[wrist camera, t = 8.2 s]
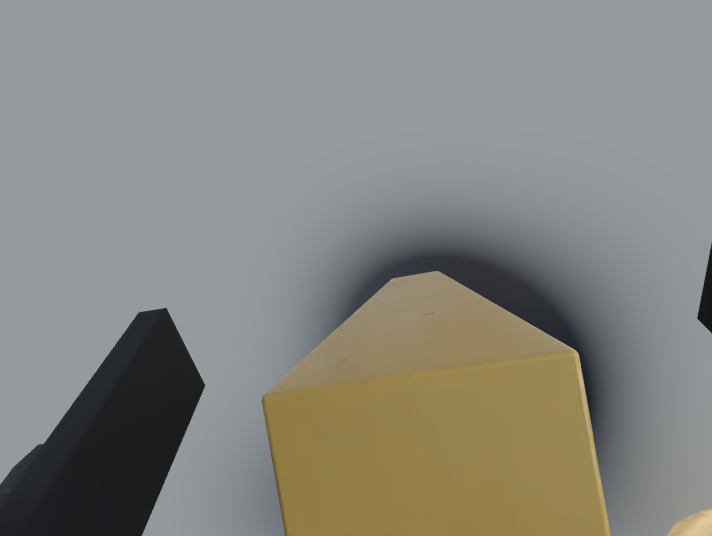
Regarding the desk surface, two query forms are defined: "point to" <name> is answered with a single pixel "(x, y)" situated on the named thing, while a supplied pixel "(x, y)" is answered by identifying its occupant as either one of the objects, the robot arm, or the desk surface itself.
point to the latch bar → (435, 424)
